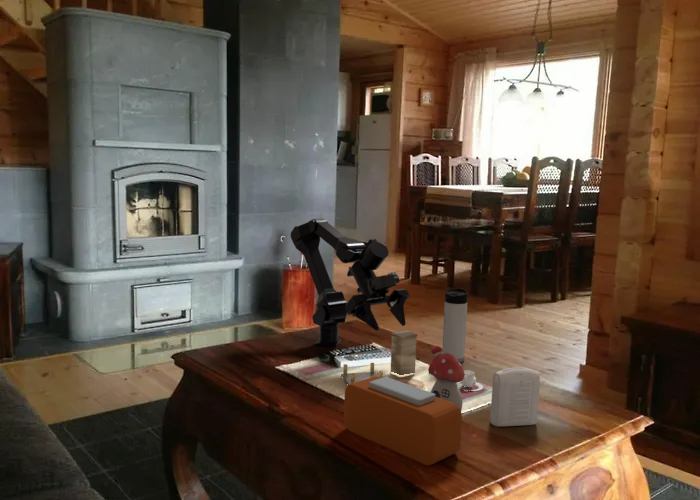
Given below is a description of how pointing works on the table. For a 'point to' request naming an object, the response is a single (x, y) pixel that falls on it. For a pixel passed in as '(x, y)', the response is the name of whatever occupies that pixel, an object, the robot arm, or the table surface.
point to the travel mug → (455, 323)
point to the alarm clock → (403, 419)
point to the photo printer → (515, 397)
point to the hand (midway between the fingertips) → (391, 327)
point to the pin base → (359, 375)
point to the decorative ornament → (446, 376)
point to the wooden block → (403, 352)
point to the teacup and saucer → (470, 380)
